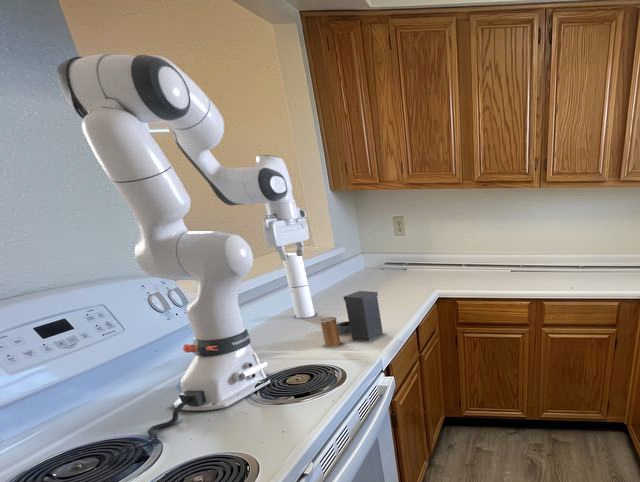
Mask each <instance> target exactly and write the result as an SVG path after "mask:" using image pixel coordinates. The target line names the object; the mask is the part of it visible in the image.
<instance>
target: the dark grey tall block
mask: <svg viewBox="0 0 640 482" xmlns="http://www.w3.org/2000/svg"><path fill="white" fill-rule="evenodd" d="M378 295H379V294H378V291H368V290H367V291H365V290H358V291H356V292H352V293H350V294H347V295H343V301H344V302H345V308H346V313H347V319H348V321H349V325H350V330H351V333H350V335H351V339H352V340H358V341H367V342H370V341H372V340H374V339H375V338H377V337H379V336H381V335H383V334H384V333H383V332H384V331H383V325H382V319H381V313H380V306H379V300H378V299H379V298H378Z"/></svg>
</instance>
